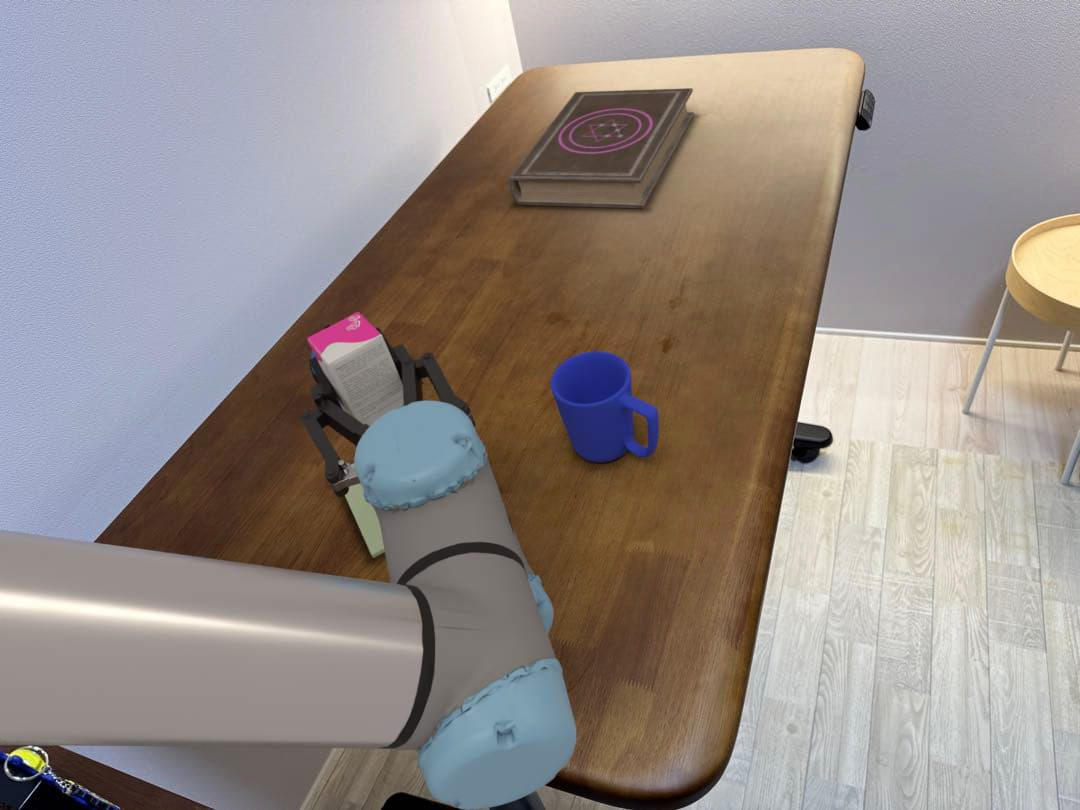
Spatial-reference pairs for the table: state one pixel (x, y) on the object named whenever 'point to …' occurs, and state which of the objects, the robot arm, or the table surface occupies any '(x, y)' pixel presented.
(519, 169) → the book
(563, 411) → the mug
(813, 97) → the table surface
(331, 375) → the supplement box
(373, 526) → the pale green square tile
